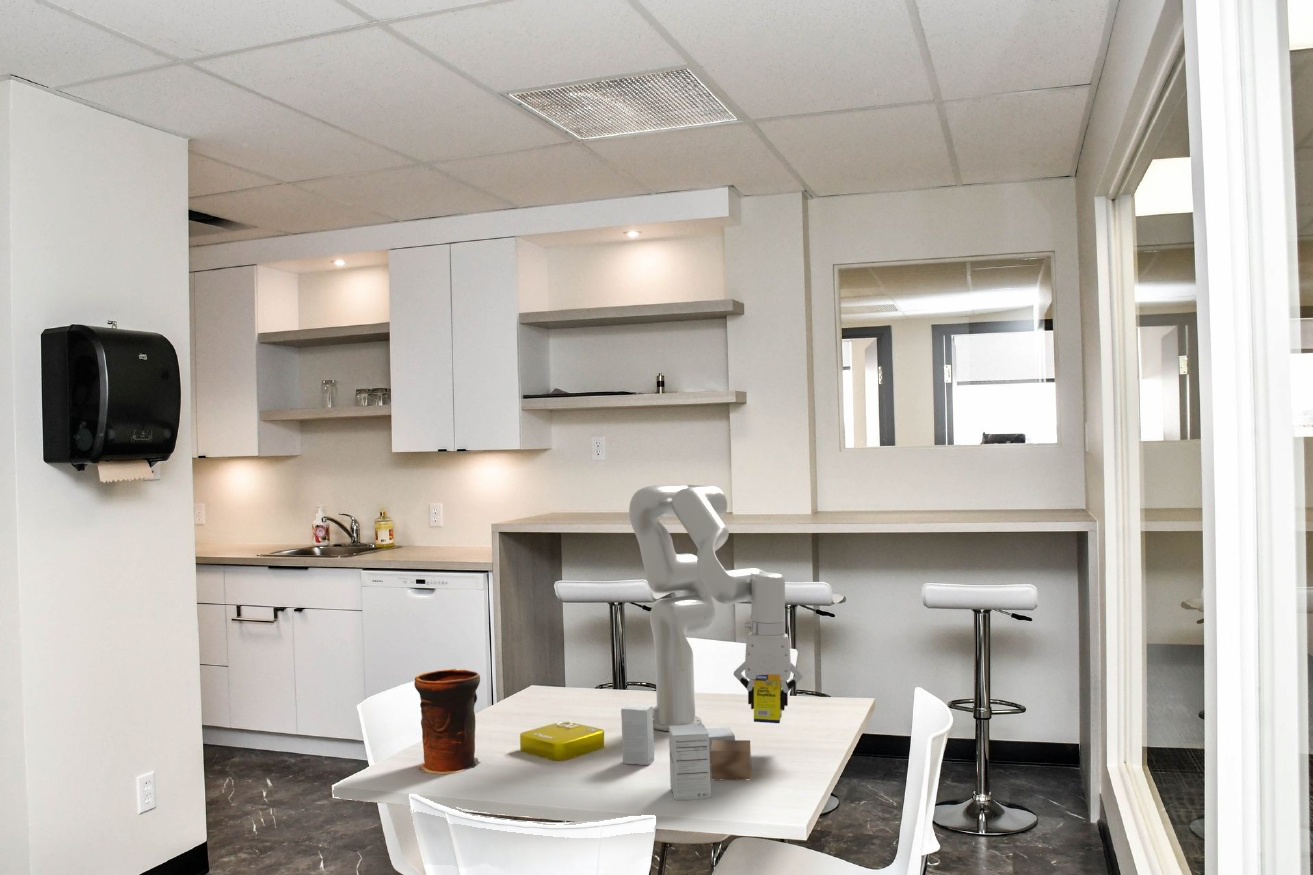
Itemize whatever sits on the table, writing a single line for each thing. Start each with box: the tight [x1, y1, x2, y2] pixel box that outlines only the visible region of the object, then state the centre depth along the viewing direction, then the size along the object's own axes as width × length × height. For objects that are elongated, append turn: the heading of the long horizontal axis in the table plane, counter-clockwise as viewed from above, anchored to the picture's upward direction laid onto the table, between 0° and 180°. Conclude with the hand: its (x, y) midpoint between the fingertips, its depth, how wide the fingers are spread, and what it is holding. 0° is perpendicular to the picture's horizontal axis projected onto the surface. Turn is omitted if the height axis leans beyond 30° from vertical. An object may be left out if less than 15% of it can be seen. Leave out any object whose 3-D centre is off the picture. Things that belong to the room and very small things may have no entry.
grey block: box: [706, 727, 736, 764], centre depth 219 cm, size 7×7×6 cm
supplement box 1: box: [668, 723, 712, 801], centre depth 197 cm, size 7×7×13 cm
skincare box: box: [620, 704, 655, 766], centre depth 219 cm, size 6×4×12 cm
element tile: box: [519, 720, 605, 762], centre depth 232 cm, size 15×15×5 cm
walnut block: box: [710, 739, 752, 781], centre depth 209 cm, size 8×8×6 cm
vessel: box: [413, 668, 481, 775], centre depth 222 cm, size 14×14×20 cm
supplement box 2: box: [753, 674, 783, 724], centre depth 224 cm, size 6×6×11 cm
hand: (767, 707), depth 224 cm, fingers closed on supplement box 2, 6 cm apart
